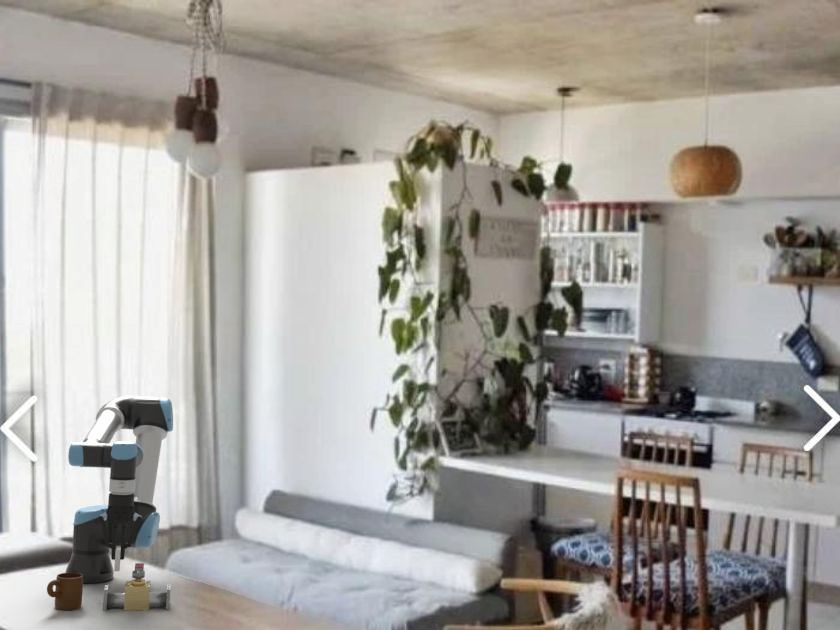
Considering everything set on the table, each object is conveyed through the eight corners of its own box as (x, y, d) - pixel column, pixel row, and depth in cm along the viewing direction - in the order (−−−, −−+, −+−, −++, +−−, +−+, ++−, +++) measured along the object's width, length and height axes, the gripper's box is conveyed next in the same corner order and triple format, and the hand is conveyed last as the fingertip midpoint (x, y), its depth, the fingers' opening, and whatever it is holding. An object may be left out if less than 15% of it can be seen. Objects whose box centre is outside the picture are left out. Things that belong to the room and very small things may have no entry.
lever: (133, 568, 321) (133, 563, 321) (145, 568, 322) (145, 563, 322) (131, 578, 308) (132, 573, 308) (144, 578, 309) (144, 573, 309)
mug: (55, 615, 297) (57, 582, 297) (36, 611, 301) (38, 578, 301) (87, 606, 308) (89, 575, 308) (68, 602, 312) (70, 570, 312)
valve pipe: (104, 602, 313) (106, 573, 313) (170, 602, 318) (172, 573, 318) (102, 610, 305) (104, 581, 305) (171, 610, 309) (172, 581, 309)
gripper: (98, 494, 312) (93, 573, 311) (143, 495, 315) (138, 573, 314) (100, 490, 319) (95, 567, 319) (144, 491, 322) (139, 567, 322)
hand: (117, 570), depth 317 cm, fingers closed
